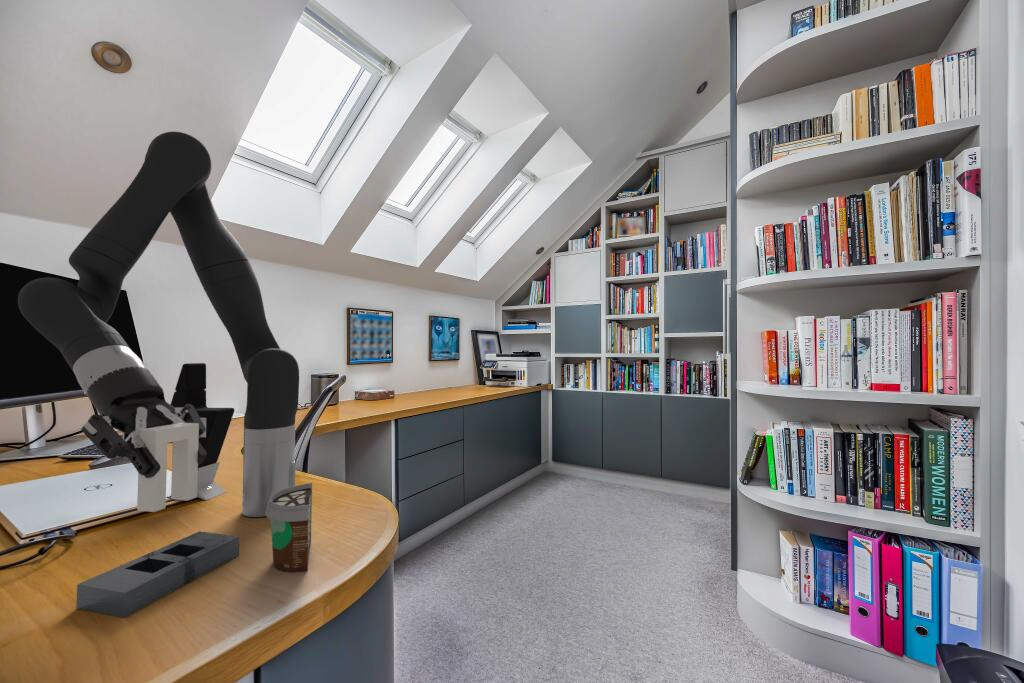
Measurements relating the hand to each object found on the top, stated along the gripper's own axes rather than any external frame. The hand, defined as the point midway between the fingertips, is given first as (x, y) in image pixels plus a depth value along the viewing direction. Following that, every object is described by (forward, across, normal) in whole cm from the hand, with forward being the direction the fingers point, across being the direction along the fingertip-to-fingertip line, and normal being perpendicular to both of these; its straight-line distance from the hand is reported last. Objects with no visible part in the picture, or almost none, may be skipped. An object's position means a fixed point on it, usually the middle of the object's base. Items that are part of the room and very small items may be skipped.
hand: (178, 466), depth 59 cm
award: (-11, +29, +34) cm, 46 cm away
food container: (+19, +8, +4) cm, 21 cm away
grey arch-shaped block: (+3, 0, +5) cm, 6 cm away
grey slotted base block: (+10, 0, +12) cm, 16 cm away
